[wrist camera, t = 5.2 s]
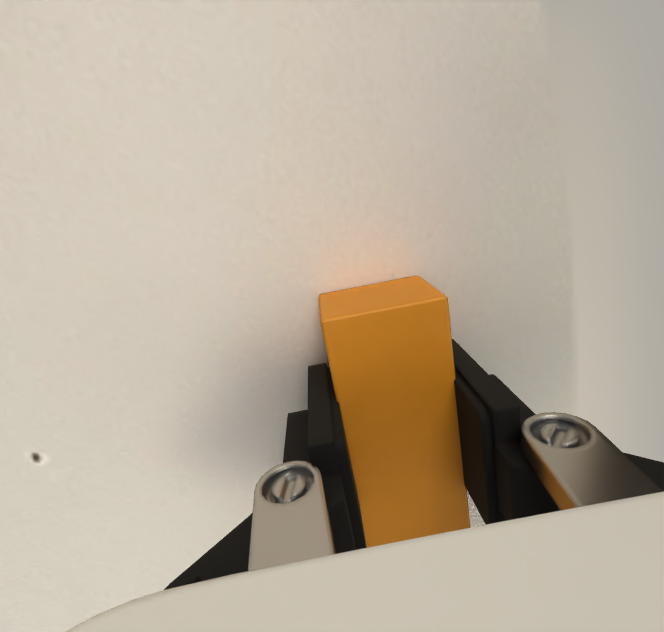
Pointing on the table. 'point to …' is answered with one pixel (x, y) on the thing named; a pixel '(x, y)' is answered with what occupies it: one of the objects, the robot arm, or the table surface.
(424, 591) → the robot arm
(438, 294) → the block
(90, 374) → the table surface
